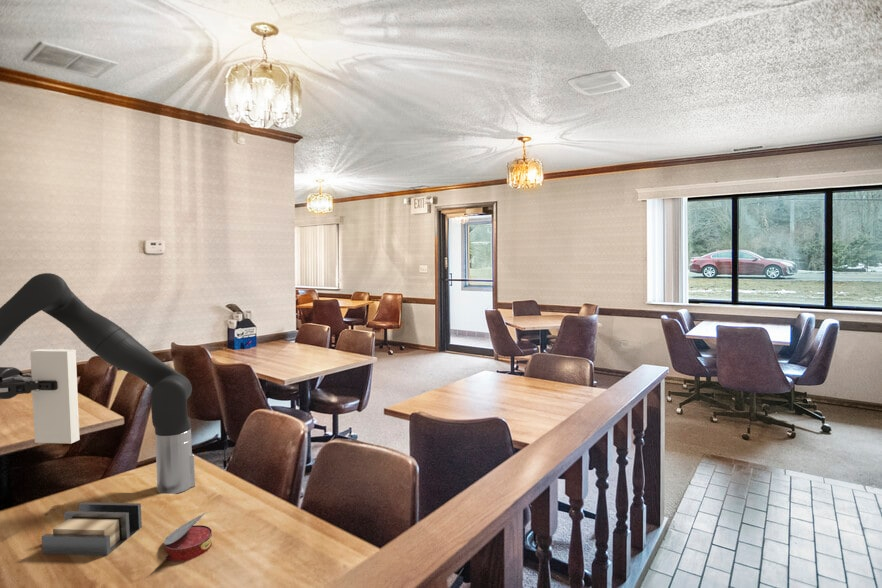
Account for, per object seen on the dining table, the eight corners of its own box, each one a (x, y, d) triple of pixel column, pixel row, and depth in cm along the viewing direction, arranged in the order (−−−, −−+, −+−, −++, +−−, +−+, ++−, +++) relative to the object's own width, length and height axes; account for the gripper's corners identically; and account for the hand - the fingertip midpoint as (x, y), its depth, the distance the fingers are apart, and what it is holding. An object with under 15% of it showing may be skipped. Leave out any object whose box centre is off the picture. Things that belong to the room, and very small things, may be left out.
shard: (72, 525, 124) (72, 518, 124) (34, 533, 121) (34, 526, 121) (82, 506, 134) (82, 500, 134) (47, 513, 131) (47, 506, 130)
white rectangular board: (34, 442, 115) (30, 351, 114) (44, 438, 118) (39, 349, 116) (71, 443, 115) (67, 351, 113) (79, 439, 117) (75, 349, 116)
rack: (42, 560, 109) (41, 527, 108) (83, 531, 120) (81, 502, 120) (107, 561, 108) (106, 529, 108) (142, 532, 120) (140, 503, 119)
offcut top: (53, 539, 110) (52, 528, 110) (69, 528, 114) (69, 518, 114) (104, 540, 109) (104, 530, 109) (119, 529, 114) (118, 519, 114)
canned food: (185, 581, 108) (162, 555, 104) (167, 559, 115) (145, 533, 110) (229, 540, 115) (210, 513, 111) (210, 521, 122) (191, 495, 117)
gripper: (-39, 374, 109) (35, 374, 108) (18, 361, 123) (84, 362, 122) (-37, 406, 109) (37, 408, 109) (19, 390, 123) (85, 391, 122)
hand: (61, 383), depth 115 cm, fingers closed on white rectangular board, 2 cm apart
